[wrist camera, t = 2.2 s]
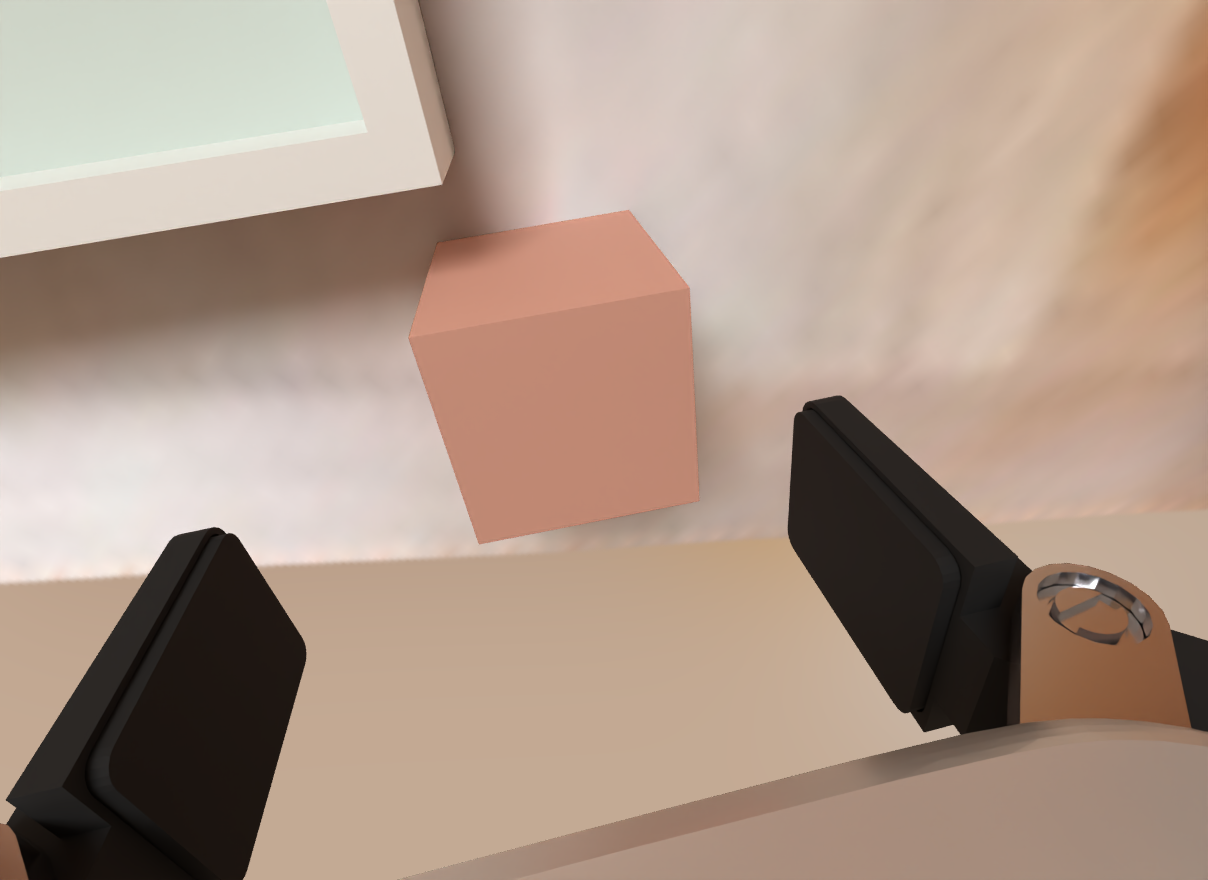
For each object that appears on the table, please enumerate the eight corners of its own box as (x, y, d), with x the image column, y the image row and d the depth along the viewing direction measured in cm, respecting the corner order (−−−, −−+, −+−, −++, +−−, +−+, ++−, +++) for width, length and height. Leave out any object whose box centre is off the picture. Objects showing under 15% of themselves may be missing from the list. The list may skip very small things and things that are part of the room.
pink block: (628, 209, 16) (689, 287, 11) (645, 377, 18) (699, 500, 13) (437, 242, 15) (408, 337, 10) (484, 407, 18) (478, 544, 13)
